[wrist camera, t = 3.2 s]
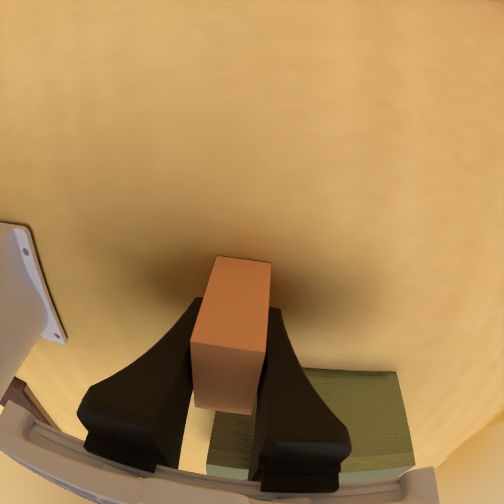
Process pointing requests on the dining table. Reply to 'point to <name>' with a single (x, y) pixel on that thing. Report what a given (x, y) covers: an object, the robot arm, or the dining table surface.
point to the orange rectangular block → (231, 336)
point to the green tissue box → (348, 412)
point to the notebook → (26, 401)
